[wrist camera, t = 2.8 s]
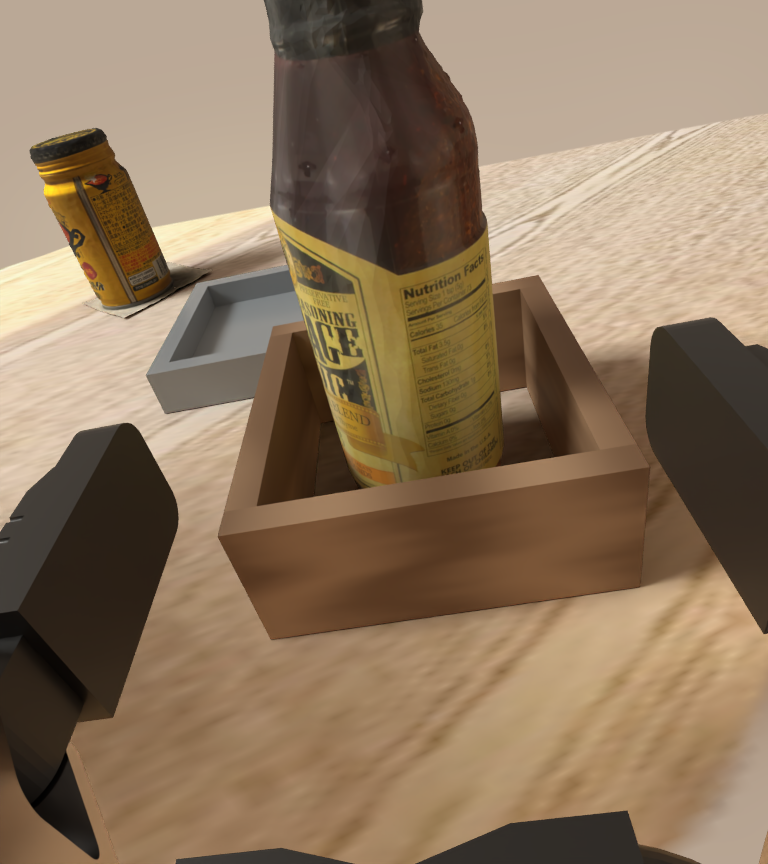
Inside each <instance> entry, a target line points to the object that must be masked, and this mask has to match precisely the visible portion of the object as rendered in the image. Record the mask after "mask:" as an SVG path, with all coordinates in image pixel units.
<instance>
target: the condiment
mask: <svg viewBox="0 0 768 864" xmlns="http://www.w3.org/2000/svg"><path fill="white" fill-rule="evenodd" d="M106 137H107V136H106V135H105V134H104V132H103V131H102V130H101V129H98V128H95V129H94V128H93V129H87V130H82V131H78V132H74V133H71V134H66V135H63V136H59V137H56V138H52V139H49V140H47V141H44V142H41V143H39V144H37V145H34V146H32V147H31V149H30V154H31V159H32V160H33V162H34V164H35V165H36V166H37V169H38V170H39V174H40V177H41V178H42V179H43V180H44V181H45V188H44V195H45V197H46V199H47V201H48V203H49V207H50V208H51V209H52V211H53V213H54V215H55V216H56V219H57V220H58V222H59V224H60V226H61V228H62V230H63V232H64V234H65V236H66V238H67V240H68V242H69V245H70V247H71V248H72V250H73V252H74V254H75V256H76V257H77V259H78V262H79V263H80V266H81V268H82V269H83V270H84V274H85V276H86V277H87V279H88V280H89V283H90V284H91V287H92V289H93V290H94V292H95V294H96V296H97V298H95V299H93V300H91V301H89V302H85V303H82V304H84V305H87V306H89V307H92V308H94V309H97V310H99V311H102V312H105V313H108V314H112V315H116V316H120V317H122V318H125V317H127V316H129V315H131V314H133V313H135V312H137V311H139V310H141V309H144V308H146V307H147V306H148V305H150V304H153V303H155V302H157V301H159V300H161V298H165V297H166V296H168V295H169V294H170V293H173V292H174V291H175V290H176V289H178V288H180V287H183V286H185V285H187V284H188V283H191V282H193V281H195V280H197V279H198V278H199V277H201V276H202V275H203V274H206V273H208V272H210V271H212V270H210V269H208V270H205V269H199V268H192V267H185V266H183V265H180V264H179V265H178V264H175V263H171V262H167V263H166V261H165V259H164V256H163V254H162V252H161V249H160V247H159V245H158V242H157V240H156V238H155V235H154V233H153V231H152V228H151V226H150V224H149V221H148V219H147V217H146V214H145V212H144V210H143V207H142V205H141V203H140V200H139V198H138V195H137V193H136V191H135V188H134V186H133V184H132V181H131V179H130V177H129V174H128V172H127V170H126V169H125V168H124V167H122V166H121V165H120V164H119V163H118V162H117V161H116V160H115V153H114V152H113V150H112V149H111V148H110V146H109V144H108V140H107V139H106ZM174 287H175V288H174Z"/></svg>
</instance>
